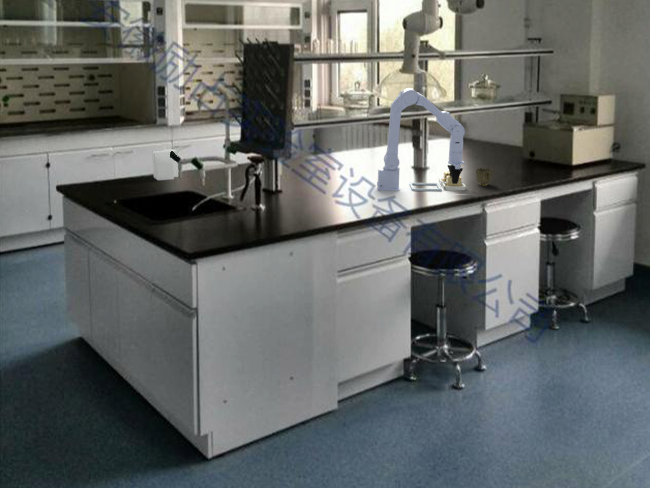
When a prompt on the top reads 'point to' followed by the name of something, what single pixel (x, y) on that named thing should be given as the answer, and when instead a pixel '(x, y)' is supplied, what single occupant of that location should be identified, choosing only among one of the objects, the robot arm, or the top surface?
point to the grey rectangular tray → (451, 186)
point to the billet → (449, 181)
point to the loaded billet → (446, 176)
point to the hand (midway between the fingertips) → (454, 182)
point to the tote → (425, 189)
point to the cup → (484, 175)
